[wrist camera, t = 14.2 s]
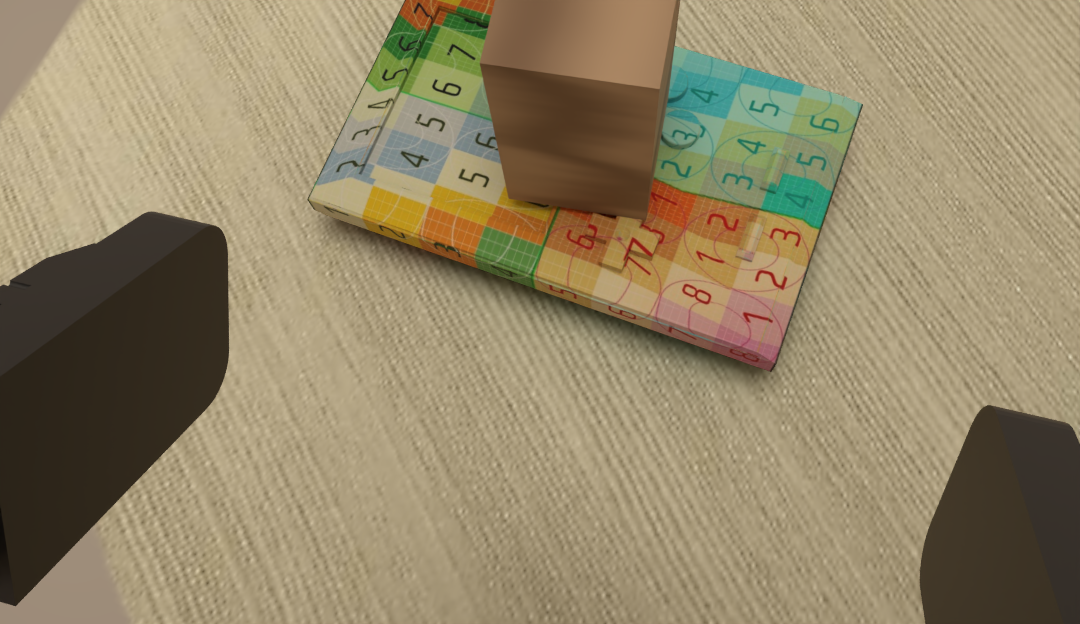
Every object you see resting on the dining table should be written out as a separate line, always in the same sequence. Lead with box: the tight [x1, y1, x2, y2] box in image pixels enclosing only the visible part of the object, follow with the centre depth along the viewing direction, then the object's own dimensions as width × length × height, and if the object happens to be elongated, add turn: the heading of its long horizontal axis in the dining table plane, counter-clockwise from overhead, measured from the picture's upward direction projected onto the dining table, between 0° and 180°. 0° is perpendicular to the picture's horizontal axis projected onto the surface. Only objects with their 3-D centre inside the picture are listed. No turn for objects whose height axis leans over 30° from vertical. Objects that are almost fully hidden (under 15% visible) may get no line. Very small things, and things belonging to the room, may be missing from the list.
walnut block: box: [480, 0, 680, 220], centre depth 36 cm, size 6×6×10 cm
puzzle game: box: [307, 0, 863, 372], centre depth 43 cm, size 12×5×20 cm
